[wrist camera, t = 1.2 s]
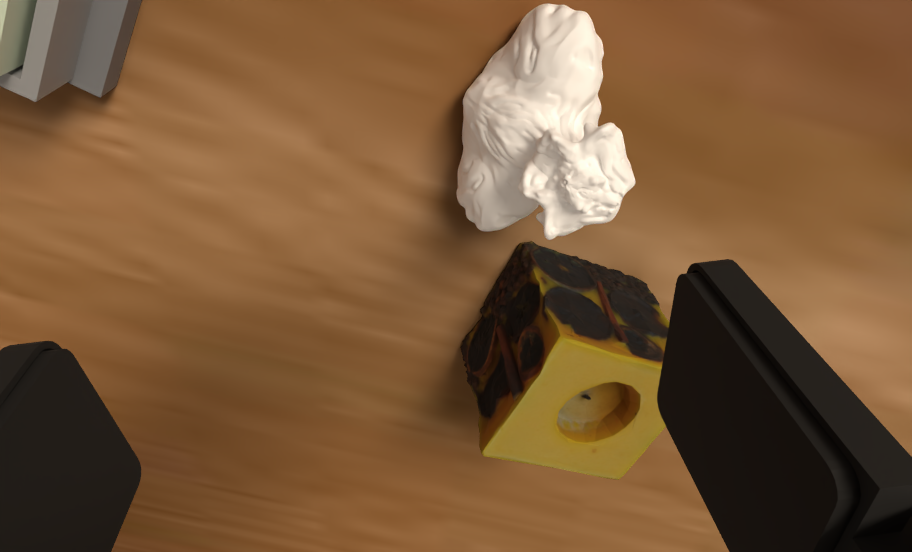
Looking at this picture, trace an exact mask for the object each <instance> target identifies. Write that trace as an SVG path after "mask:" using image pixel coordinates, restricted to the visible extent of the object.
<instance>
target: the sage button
mask: <svg viewBox="0 0 912 552" xmlns="http://www.w3.org/2000/svg"><path fill="white" fill-rule="evenodd" d="M36 3H37V0H0V76H2V75H4V74H6V73H8V72H10V71H12V70H14V69H16V68H18V67H20V66H22V65H24V61H25V56H26V51H27V46H28V41H29V37H30V32H31V27H32V22H33V18H34V13H35V8H36Z"/></svg>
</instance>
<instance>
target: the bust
mask: <svg viewBox="0 0 912 552" xmlns="http://www.w3.org/2000/svg"><path fill="white" fill-rule="evenodd" d="M603 55H604V52H603V44H602V41H601V39H600V38H599V36H598V35H597V34H596V32H595V29H594V25H593V22H592V20H591V18H590V16H589V15H588V14H587V13H586V12H584V11H575V10H573V9H571V8H569V7H568V6H566V5H554V4H543V5H539V6H538V7H536V8H534V9H533V10H531V11H530V12H529V13H528V14H527V15H526V16H525V17H524V18H523V19H522V21H521V22H520V24H519V26H518V28H517V30H516V31H515V33H514V34H513V36H512V37H511V39H510V40H509V41H508V43H507V44H506V45H505V46H504V47H502V48H501V49H500V50H498V51H497V52H496V53H495V54H494V55H493V56H492V57H491V59H490V60H489V61H488V63H487V65H486V67H485V68H484V70H483V72H482V73H481V74H480V75H479V76H478V77H477V78H476V80H475V81H474V82H473V84H472V85H471V86H470V87H469V88H468V89H467V91H466V93H465V96H464V98H463V117H464V119H463V129H462V143H463V154H462V157H461V161H460V164H459V167H458V176H457V177H458V189H457V192H456V194H457V199H458V202H459V203H460V205H461V206H463V207H464V208H465V210H466V217H467V218H468V219H469V220H470V221H471V222H473V223H475V224H476V227H477V228H478V229H479V230H481V231H496V230H501V229H503V228H506V227H508V226H510V225H511V224H513V223H515V222H517V221H518V220H520V219H522V218H524V217H527V216H528V215H530V214H531V213H532V212H533V211H534V210H535V209H536V208H537V207H538V205H540V206H541V207H542V208H543V209H544V212H541V213H538V214H537V216H536V219H537V220H538V221H539V222H540V223H542V225H543V227H544V235H545V237H546V238H547V239H548V240H551V239H554V238H555V237H556V236H565V235H567V234H569V233H572V232H574V231H576V230H578V229H581V228H582V227H583V226H584V225H590V224H602V223H607V222H609V221H611V220H612V219H613V218H614V217H615V216H616V214H617V212H618V210H619V208H620V204H621V201H622V198H623V197H624V195H625V194H626V193H627V192H628V191H629V190H630V189H631V188H632V187H633V186H634V185H635V178H634V175H633V172H632V169H631V165H630V162H629V160H628V159H627V156H626V152H625V145H624V140H623V135H622V132H621V130H620V129H619V128H618V127H616V126H615V124H613V123H606V124H604V125H602V126H600V127H598V119H599V116H600V113H601V103H600V100H599V98H598V91H599V89H600V85H601V82H602V79H603V71H602V58H603Z"/></svg>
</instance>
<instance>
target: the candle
mask: <svg viewBox="0 0 912 552" xmlns="http://www.w3.org/2000/svg"><path fill="white" fill-rule="evenodd" d="M480 310H481V313H482V314H483V316H482V319H481V320H480V321H479V322H478V324H477V325H476V326H475V328H474V329H473V330H472V331H471V332H470V333H469V334H468V335H467V336H466V339H465V340H464V341H463V344H462V346H461V351H462V355H463V360H464V361H465V362H466V363H465V365H464V366H465V367H466V368H467V371H466V372H467V374H468V377H467V382H468V383H469V384H470V386H471V388H472V391H473V393H474V395H475V398H476V400H477V403H478V408H479V413H480V417H479V422H478V426H479V432H480V443H479V447H480V450H481V453H482V455H483V456H485V457H491V458H497V459H504V460H510V461H516V462H521V463H527V464H534V465H540V466H546V467H552V468H558V469H563V470H568V471H573V472H578V473H583V474H588V475H592V476H597V477H603V478H609V479H617V480H619V479H620V478H621V477H622V476H623V475H624V474H625V473H626V472H627V471H628V470H629V469H630V467H631V466H632V465H633V464H634V463H635V461H636V460H637V459H638V458H639V457H640V456H641V455H642V454H643V453H644V451H645V450H646V449H647V447H648V446H649V445H650V444H651V443H652V442H653V441H654V439H655V438H656V437H657V436H658V435H659V434H660V433H661V431H662V430H663V429H664V428H665V427H666V425H665V423H664V421H663V419H662V417H661V415H660V412H659V408H658V403H657V392H658V386H659V380H660V375H661V369H662V363H663V357H664V351H665V346H666V340H667V334H668V328H669V323H670V322H669V321H668V320H667V319H666V318H665V316H664V314H663V313H662V311H661V310H660V307H659V303H658V301H657V300H656V298H655V296H654V295H653V293H651V292H650V290H649V289H648V287H647V284H646V283H644V282H643V281H641V280H639V279H637V278H635V277H633V276H629V275H624V274H623V273H622V272H621V271H617V270H614V269H607V268H606V267H604V266H600V265H598V264H592V263H591V262H589V261H587V260H582V259H579V258H578V257H577V256H569V255H565V254H562V253H559V252H557V251H554V250H551V249H548V248H545V247H541V246H538V245H536V244H535V243H534V242H532V241H531V242H526V243H520V245H519V246H518V248H517V249H516V251H515V253H514V254H513V256H512V258H511V260H510V261H509V263H508V265H507V267H506V269H505V271H504V272H502V273H501V276H500V277H499V279H498V280H497V282H496V284H495V286H494V288H493V290H492V292H491V293H490V294H489V296H488V297H487V299H486V301H485V306H484V307H483V308H482V309H480Z"/></svg>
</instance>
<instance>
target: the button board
mask: <svg viewBox="0 0 912 552" xmlns="http://www.w3.org/2000/svg"><path fill="white" fill-rule="evenodd" d="M141 1H142V0H37V3H36V8H35V13H34V18H33V22H32V27H31V32H30V37H29V41H28V46H27V51H26V56H25V61H24V65H22V66H20V67H18V68H16V69H14V70H12V71H10V72H8V73H6V74H4V75H2V76H0V86H1V87H3V88H5V89H8V90H10V91H12V92H14V93H17V94H19V95H21V96H23V97H26V98H28V99H30V100H32V101H35V102H37V101H38V100H40V99H42V98H43V97H45V96H46V95H48V94H50V93H51V92H53V91H54V90H56V89H58V88H59V87H61V86H62V85H64V84H66V83H70V84H72V85H74V86H76V87H78V88H80V89H83V90H85V91H87V92H89V93H91V94H93V95H95V96H98V97H100V98H101V97H102V96H104V95H105V94H106V93H108V92H109V91H110V90H112V89H113V88H114V87H116V86H117V82H118V79H119V76H120V72H121V69H122V65H123V62H124V59H125V55H126V52H127V48H128V45H129V42H130V38H131V35H132V31H133V28H134V25H135V21H136V18H137V15H138V11H139V8H140V4H141Z"/></svg>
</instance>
